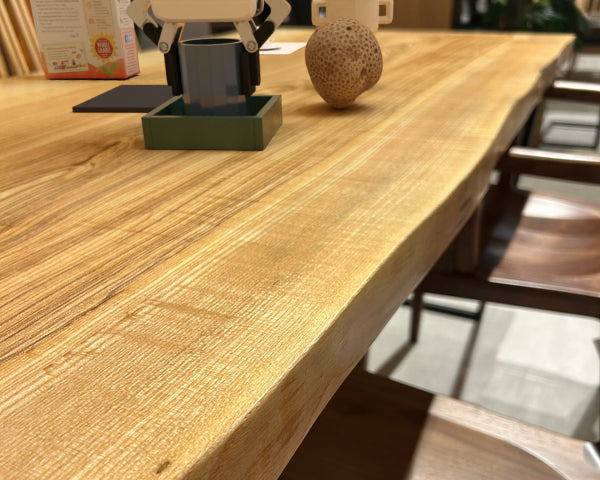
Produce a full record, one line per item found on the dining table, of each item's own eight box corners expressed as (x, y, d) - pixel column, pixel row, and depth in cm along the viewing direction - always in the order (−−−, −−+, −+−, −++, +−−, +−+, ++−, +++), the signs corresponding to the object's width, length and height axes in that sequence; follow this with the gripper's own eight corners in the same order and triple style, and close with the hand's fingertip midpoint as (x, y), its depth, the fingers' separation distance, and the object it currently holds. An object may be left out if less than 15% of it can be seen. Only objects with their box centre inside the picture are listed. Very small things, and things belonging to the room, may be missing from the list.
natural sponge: (351, 97, 82) (352, 12, 77) (397, 108, 75) (402, 16, 71) (292, 107, 78) (289, 17, 73) (335, 119, 71) (336, 21, 66)
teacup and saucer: (234, 51, 128) (233, 29, 126) (246, 46, 135) (245, 25, 133) (277, 51, 126) (276, 29, 125) (286, 46, 133) (286, 25, 131)
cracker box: (142, 74, 104) (122, -75, 94) (126, 80, 99) (103, -77, 89) (63, 73, 107) (36, -71, 97) (44, 79, 101) (13, -73, 92)
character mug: (386, 80, 93) (389, -19, 87) (394, 89, 87) (398, -18, 81) (311, 83, 93) (310, -17, 87) (314, 91, 86) (312, -16, 80)
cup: (179, 142, 63) (168, 45, 59) (196, 127, 69) (188, 38, 65) (242, 143, 63) (236, 45, 58) (254, 128, 68) (249, 37, 64)
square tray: (145, 149, 61) (140, 117, 60) (180, 122, 72) (177, 94, 70) (263, 150, 60) (262, 117, 59) (282, 122, 70) (281, 94, 69)
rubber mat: (72, 112, 78) (71, 107, 78) (121, 88, 92) (121, 84, 92) (183, 112, 76) (183, 107, 76) (216, 88, 90) (215, 84, 90)
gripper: (301, -119, 58) (305, 87, 66) (118, -112, 60) (144, 87, 68) (289, -129, 51) (295, 101, 59) (84, -120, 53) (118, 101, 62)
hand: (214, 92), depth 64 cm, fingers closed on cup, 6 cm apart
